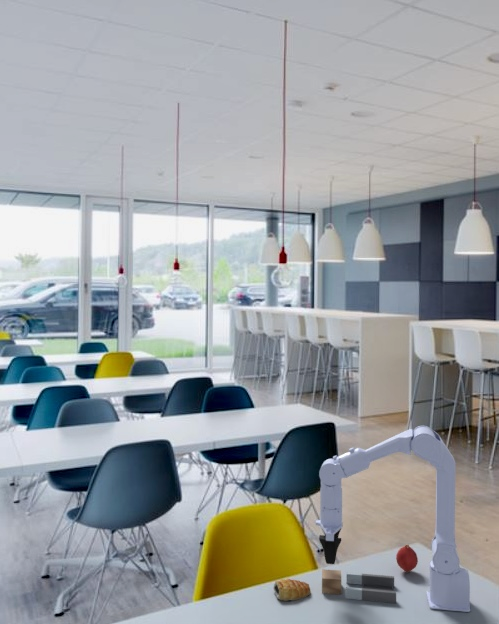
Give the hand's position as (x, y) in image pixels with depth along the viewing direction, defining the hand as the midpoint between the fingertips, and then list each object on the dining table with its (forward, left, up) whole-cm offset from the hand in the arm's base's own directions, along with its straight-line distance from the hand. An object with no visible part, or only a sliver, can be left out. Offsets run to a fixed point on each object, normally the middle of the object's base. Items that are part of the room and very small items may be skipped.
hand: (331, 556), depth 153 cm
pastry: (+10, +5, -9) cm, 15 cm away
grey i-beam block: (-11, 0, -8) cm, 13 cm away
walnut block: (0, 0, -9) cm, 9 cm away
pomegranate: (-21, -13, -9) cm, 26 cm away
